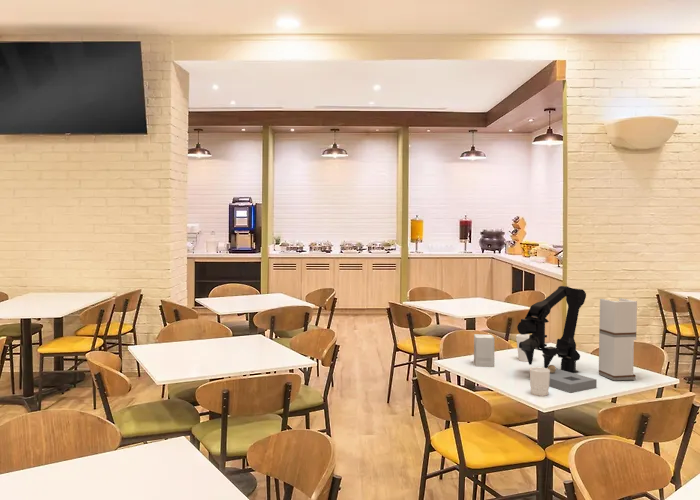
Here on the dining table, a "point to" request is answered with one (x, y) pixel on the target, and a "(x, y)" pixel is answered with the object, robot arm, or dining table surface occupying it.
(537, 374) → the white cup
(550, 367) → the ball
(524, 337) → the foam cup
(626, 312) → the grey striped pillar
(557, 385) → the grey flat block
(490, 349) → the supplement box
